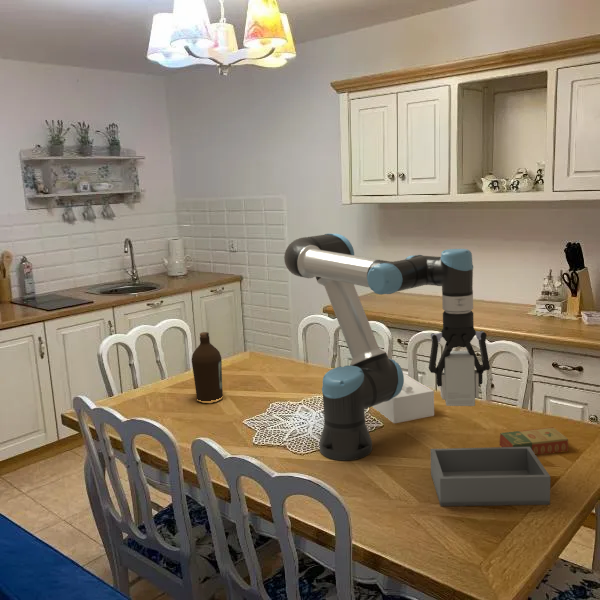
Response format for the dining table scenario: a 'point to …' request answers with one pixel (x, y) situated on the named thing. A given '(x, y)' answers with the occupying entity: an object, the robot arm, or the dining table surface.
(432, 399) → the hammer embossed block
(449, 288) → the robot arm
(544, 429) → the carton
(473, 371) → the supplement box
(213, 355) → the olive oil
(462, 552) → the dining table surface
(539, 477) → the open box
